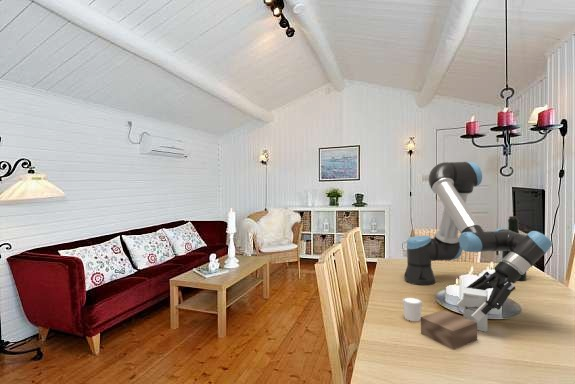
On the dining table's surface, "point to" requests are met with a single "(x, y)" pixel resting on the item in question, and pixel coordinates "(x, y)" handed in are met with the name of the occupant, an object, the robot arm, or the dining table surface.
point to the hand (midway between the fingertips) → (466, 312)
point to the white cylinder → (412, 308)
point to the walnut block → (449, 329)
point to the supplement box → (474, 305)
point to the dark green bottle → (514, 227)
